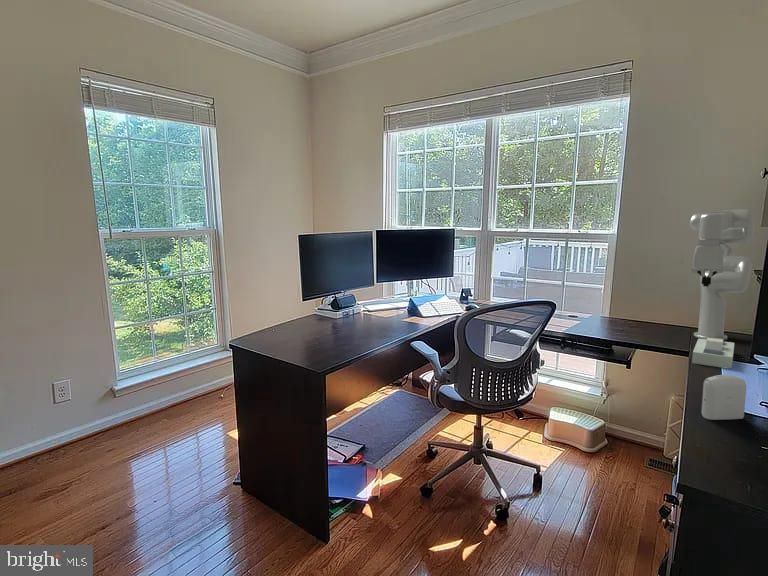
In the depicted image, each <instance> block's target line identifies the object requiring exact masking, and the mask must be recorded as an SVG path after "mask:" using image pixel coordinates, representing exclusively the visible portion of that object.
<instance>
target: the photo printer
mask: <svg viewBox="0 0 768 576" xmlns="http://www.w3.org/2000/svg"><path fill="white" fill-rule="evenodd" d="M702 385H703V387H702V400H701V411H700V412H701V415H702V417H703V418H704V419H707V420H710V421H711V420H713V421H715V420H716V421H719V420H721V421H723V420H724V421H725V420H726V421H727V420H743V419H744V418H745V417H744V416H745V409H746V408H745V407H746V406H745V405H746V398H747V396H746V395H747V383H746V380H744V379H743V378H741V377H740V376H736V375H731V374H719V375H713V376H709V377H707V378H705V379H704V381H703V383H702Z"/></svg>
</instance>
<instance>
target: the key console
mask: <svg viewBox="0 0 768 576" xmlns="http://www.w3.org/2000/svg"><path fill="white" fill-rule="evenodd" d="M706 342H707V339H702V338H698V339H697V341H696V343H695V346H694V348H693V351H692V360H691V363H692V364H695V365H702V366H703V365H704V366H709V367H717V368H722V367H726V368H725V369H728V368H732V369H733V362H734V353H735V352H734V351H735V342H732V341H724V342H723V347H722V353H721V355H717V354H710V353H704V352H705V347H706Z"/></svg>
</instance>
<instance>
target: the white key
mask: <svg viewBox="0 0 768 576" xmlns="http://www.w3.org/2000/svg"><path fill="white" fill-rule="evenodd" d="M706 340H707V342H706V346H712V347H720V348H722V347H723V339H714V338H707V339H706Z"/></svg>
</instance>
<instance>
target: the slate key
mask: <svg viewBox="0 0 768 576" xmlns="http://www.w3.org/2000/svg"><path fill="white" fill-rule="evenodd" d="M704 353H710V354H717V355H721V353H722V348H720V347H712V346H706V347H705V352H704Z"/></svg>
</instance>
